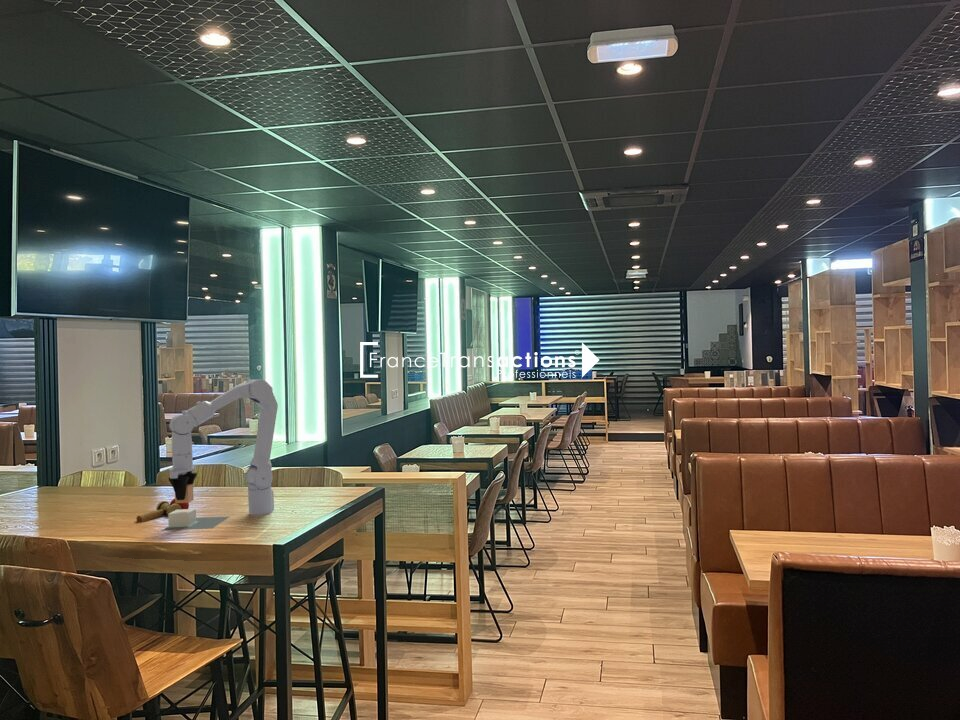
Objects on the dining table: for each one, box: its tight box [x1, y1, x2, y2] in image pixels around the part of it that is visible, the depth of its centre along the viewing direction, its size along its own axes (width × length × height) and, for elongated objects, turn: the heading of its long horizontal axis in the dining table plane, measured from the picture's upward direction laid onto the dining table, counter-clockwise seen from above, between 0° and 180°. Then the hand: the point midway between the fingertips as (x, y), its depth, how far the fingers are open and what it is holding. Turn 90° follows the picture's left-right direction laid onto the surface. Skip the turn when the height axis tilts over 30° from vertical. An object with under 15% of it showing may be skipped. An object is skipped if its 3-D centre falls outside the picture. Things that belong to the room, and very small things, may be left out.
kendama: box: [136, 497, 190, 523], centre depth 236 cm, size 8×6×18 cm
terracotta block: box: [174, 483, 195, 504], centre depth 222 cm, size 4×4×5 cm
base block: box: [167, 508, 197, 527], centre depth 222 cm, size 6×6×4 cm
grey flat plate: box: [161, 516, 230, 531], centre depth 223 cm, size 16×15×1 cm
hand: (183, 498), depth 222 cm, fingers closed on terracotta block, 4 cm apart
